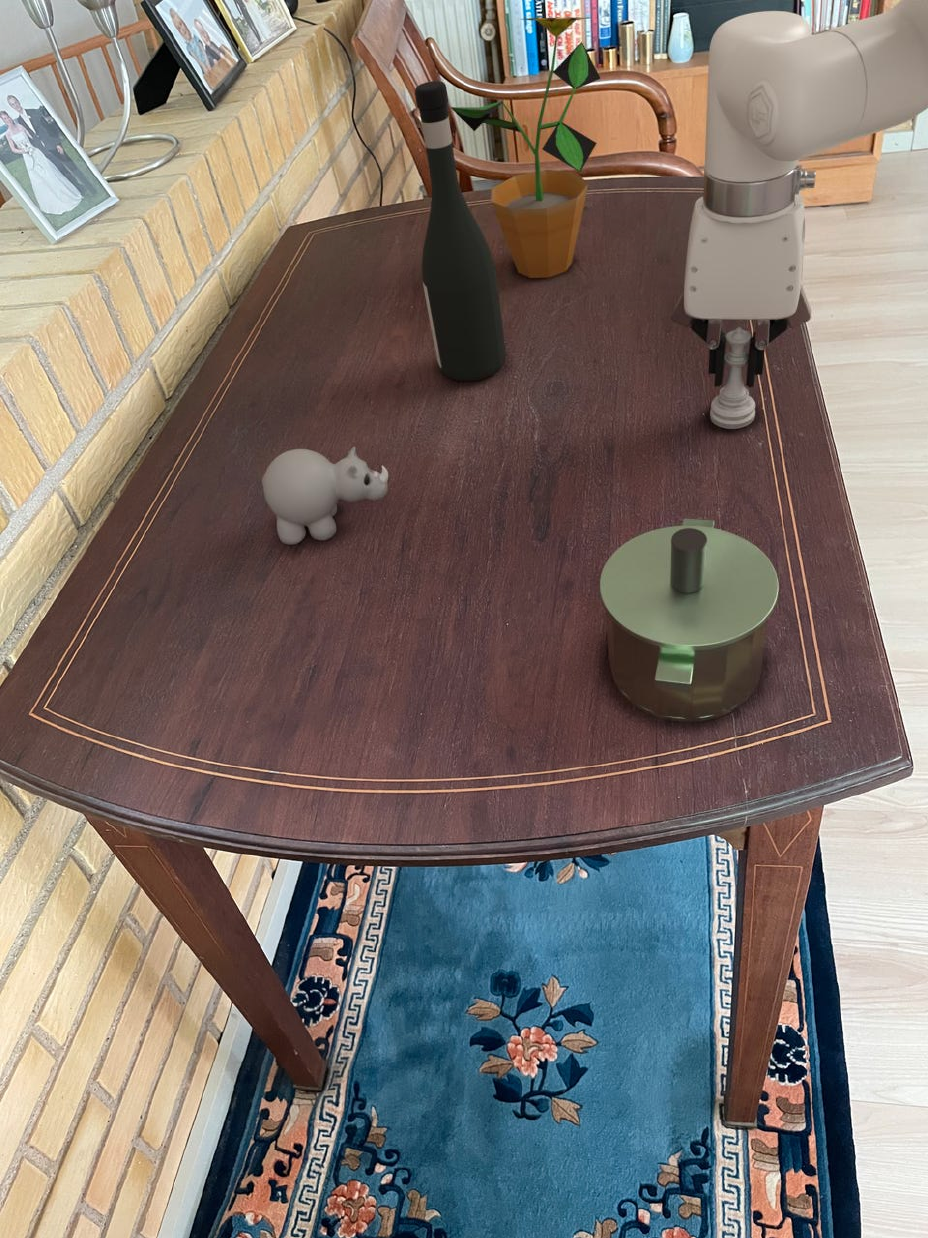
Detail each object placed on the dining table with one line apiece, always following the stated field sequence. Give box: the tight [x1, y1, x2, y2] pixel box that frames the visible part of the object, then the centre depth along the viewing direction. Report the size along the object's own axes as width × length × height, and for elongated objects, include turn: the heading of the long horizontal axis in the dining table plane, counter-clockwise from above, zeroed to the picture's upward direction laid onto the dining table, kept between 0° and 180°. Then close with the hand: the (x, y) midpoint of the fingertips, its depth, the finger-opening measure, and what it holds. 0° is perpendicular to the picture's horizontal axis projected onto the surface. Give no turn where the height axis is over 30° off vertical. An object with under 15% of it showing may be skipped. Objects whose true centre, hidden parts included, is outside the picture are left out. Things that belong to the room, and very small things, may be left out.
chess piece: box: [709, 326, 756, 430], centre depth 90 cm, size 4×4×10 cm
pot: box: [606, 518, 769, 723], centre depth 69 cm, size 11×17×8 cm
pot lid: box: [599, 525, 780, 650], centre depth 64 cm, size 12×12×5 cm
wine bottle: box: [414, 80, 507, 383], centre depth 97 cm, size 8×8×30 cm
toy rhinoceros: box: [261, 446, 389, 546], centre depth 88 cm, size 7×12×8 cm, turn 93°
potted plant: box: [450, 17, 601, 279], centre depth 113 cm, size 18×19×30 cm
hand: (735, 377), depth 90 cm, fingers closed on chess piece, 2 cm apart
